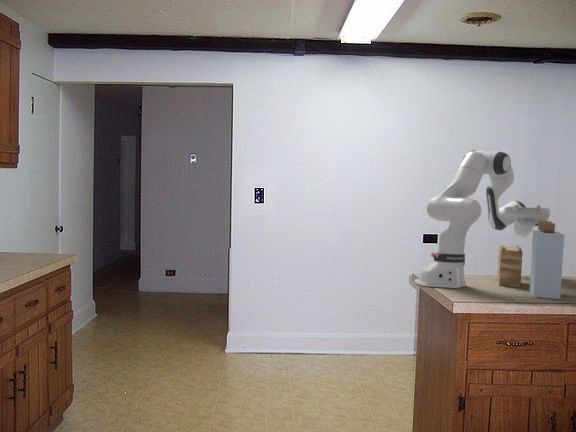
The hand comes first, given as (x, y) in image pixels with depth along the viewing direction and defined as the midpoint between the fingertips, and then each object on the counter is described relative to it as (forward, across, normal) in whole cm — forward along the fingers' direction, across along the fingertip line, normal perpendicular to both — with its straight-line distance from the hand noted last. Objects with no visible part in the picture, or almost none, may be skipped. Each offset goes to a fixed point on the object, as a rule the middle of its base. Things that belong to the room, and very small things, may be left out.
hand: (527, 206), depth 280 cm
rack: (-8, -8, +36) cm, 37 cm away
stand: (+12, +5, +46) cm, 48 cm away
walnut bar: (+18, +6, +20) cm, 27 cm away
